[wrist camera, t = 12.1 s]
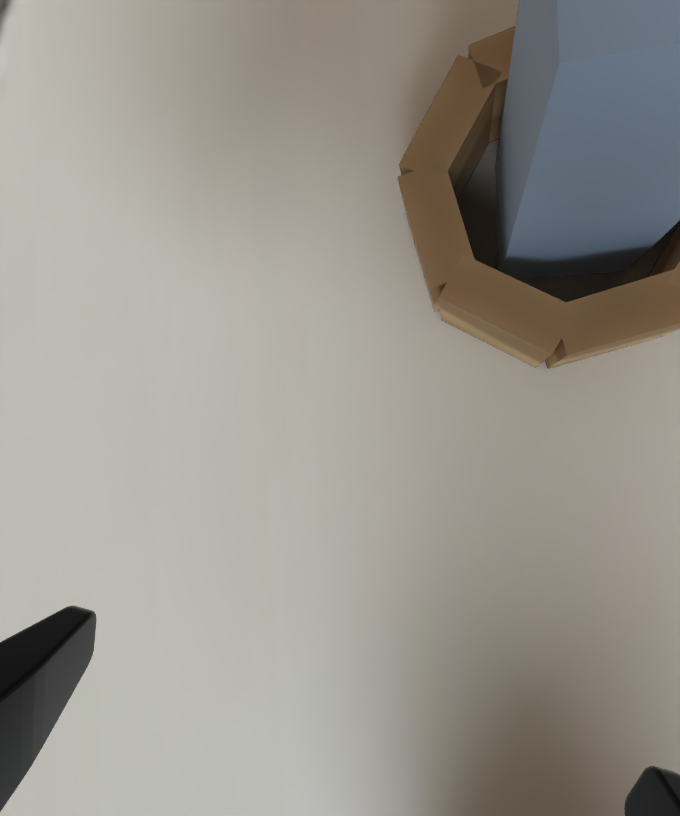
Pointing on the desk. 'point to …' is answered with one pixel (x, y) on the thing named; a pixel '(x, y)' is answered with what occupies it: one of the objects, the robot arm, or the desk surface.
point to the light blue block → (589, 136)
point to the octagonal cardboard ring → (487, 287)
